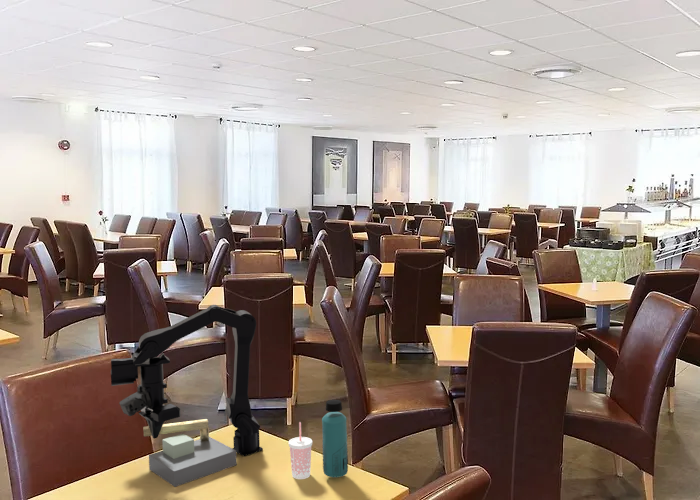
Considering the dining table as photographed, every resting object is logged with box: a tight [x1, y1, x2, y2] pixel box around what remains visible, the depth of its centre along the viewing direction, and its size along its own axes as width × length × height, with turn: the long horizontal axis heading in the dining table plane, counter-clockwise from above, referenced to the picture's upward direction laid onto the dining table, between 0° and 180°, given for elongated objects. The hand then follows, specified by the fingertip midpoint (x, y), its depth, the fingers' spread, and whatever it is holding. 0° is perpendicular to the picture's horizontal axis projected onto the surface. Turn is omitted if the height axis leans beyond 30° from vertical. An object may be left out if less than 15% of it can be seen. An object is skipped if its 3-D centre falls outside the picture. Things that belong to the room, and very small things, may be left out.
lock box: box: [148, 436, 237, 487], centre depth 168 cm, size 18×14×4 cm
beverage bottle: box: [321, 399, 349, 478], centre depth 160 cm, size 6×7×20 cm
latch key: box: [143, 418, 210, 441], centre depth 174 cm, size 17×2×6 cm, turn 109°
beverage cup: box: [288, 421, 313, 480], centre depth 162 cm, size 6×6×14 cm
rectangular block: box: [161, 433, 195, 459], centre depth 168 cm, size 6×6×4 cm
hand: (155, 438), depth 169 cm, fingers closed
